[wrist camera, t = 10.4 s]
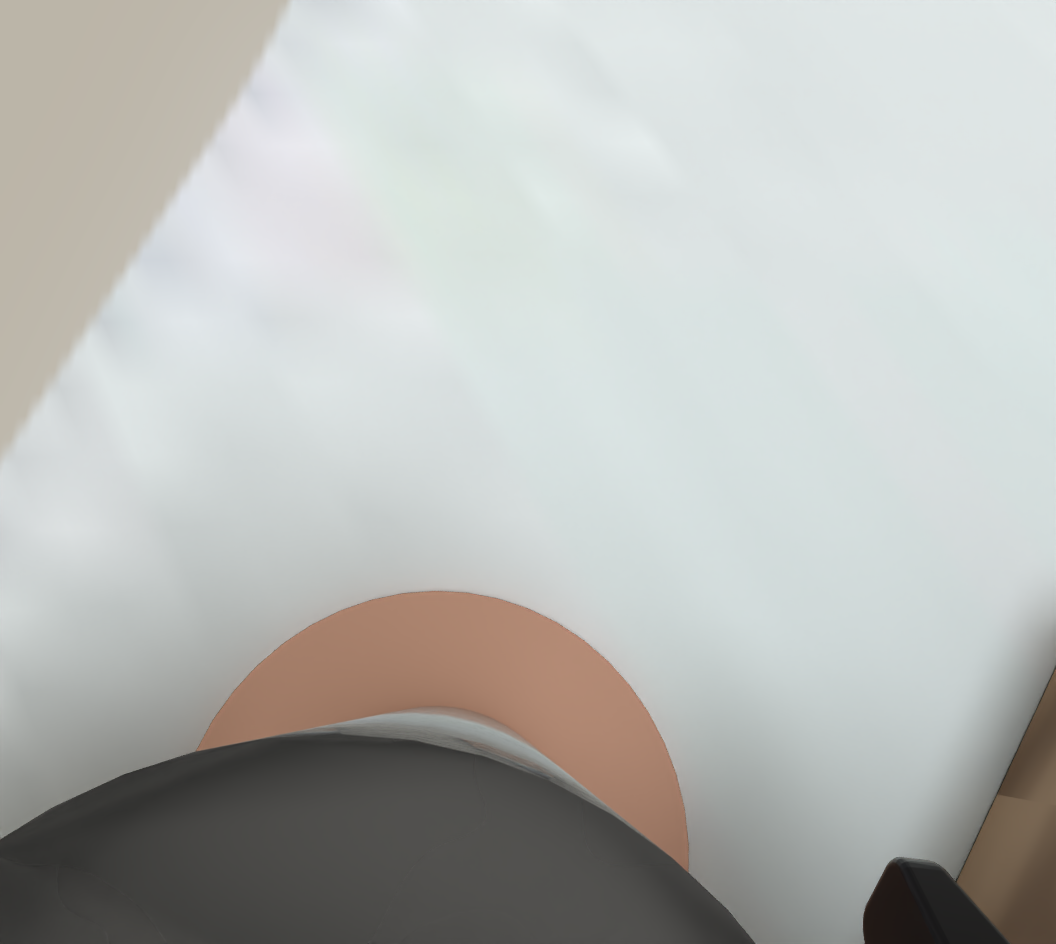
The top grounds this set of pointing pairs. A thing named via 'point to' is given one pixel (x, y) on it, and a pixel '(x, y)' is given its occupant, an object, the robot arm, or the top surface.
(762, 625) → the top surface
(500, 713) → the mat
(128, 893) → the shiny metal cylinder
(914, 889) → the robot arm
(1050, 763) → the housing
